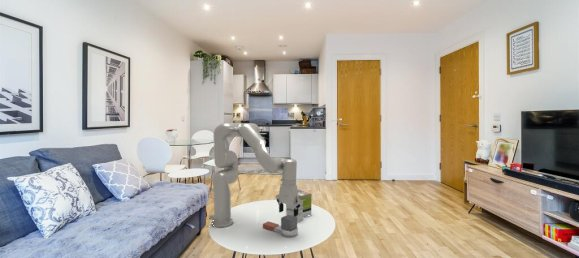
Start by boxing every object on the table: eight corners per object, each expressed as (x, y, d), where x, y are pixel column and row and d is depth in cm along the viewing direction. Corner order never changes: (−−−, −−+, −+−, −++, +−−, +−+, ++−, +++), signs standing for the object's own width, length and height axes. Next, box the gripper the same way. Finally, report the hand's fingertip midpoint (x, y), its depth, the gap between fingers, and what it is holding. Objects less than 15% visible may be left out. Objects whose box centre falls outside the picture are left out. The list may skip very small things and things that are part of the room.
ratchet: (301, 233, 142) (301, 221, 142) (291, 239, 135) (291, 226, 135) (270, 224, 155) (270, 213, 155) (260, 229, 148) (260, 217, 147)
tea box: (285, 212, 175) (285, 190, 175) (297, 209, 181) (297, 188, 181) (300, 219, 163) (300, 195, 163) (312, 215, 169) (312, 192, 169)
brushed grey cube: (281, 228, 141) (281, 217, 140) (287, 225, 146) (287, 214, 145) (290, 231, 137) (290, 220, 137) (297, 227, 142) (297, 216, 142)
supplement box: (285, 220, 160) (286, 200, 160) (294, 217, 166) (294, 197, 166) (294, 223, 155) (294, 202, 155) (303, 220, 161) (303, 200, 160)
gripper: (272, 180, 143) (271, 212, 143) (298, 186, 133) (297, 219, 133) (280, 178, 149) (279, 208, 149) (306, 183, 139) (305, 215, 139)
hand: (288, 213), depth 141 cm, fingers open, 9 cm apart
